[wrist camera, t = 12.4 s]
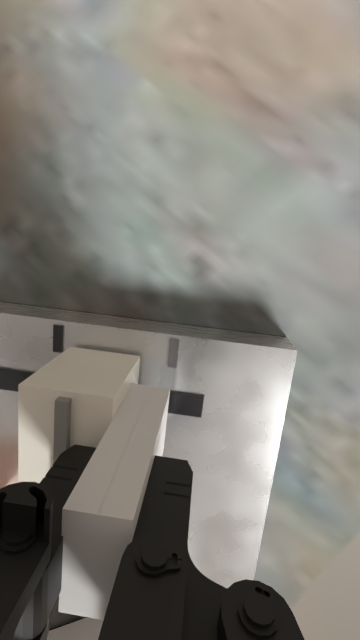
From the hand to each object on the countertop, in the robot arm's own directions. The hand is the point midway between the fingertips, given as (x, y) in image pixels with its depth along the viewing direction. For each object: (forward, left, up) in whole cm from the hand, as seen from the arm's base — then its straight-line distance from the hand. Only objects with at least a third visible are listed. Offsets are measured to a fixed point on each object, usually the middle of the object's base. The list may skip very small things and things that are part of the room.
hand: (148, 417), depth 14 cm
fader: (-2, 0, -1) cm, 3 cm away
